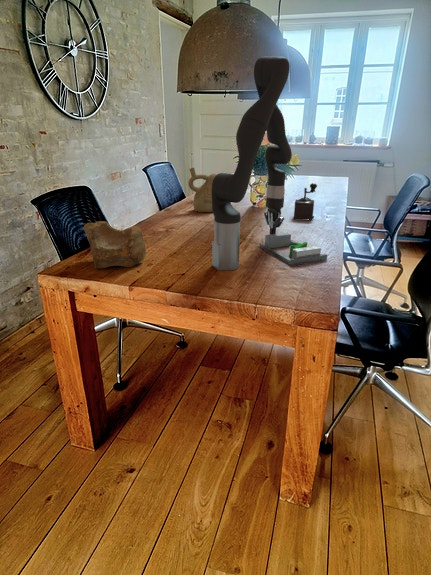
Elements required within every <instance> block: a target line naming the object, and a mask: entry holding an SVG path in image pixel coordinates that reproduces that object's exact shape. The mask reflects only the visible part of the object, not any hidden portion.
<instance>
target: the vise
mask: <svg viewBox="0 0 431 575" xmlns="http://www.w3.org/2000/svg"><path fill="white" fill-rule="evenodd" d="M295 243H298V241H297V242H296V241H294V240H292V239H291V242H290V246H291V245H295ZM259 248H260V249H262V250H263V251H265V252H267V253H268V254H271V255H272V256H274V257H276V258H277V259H279V260H280V261H282V262H285V263H287V264H288V265H290V266H291V267H293V266H295V267H296V266H301V265H306V264H313V263H319V262H326V261H328V253H321V252H322V251H321V250H322V247H320V246H317V245H312V246H307V247H305V248H297V249H292V256H291V258H290V257H288V256H286V255H284V254H283V253H282V252H279V251H277V250H276V249H275V248H270V247H268V246H267V245H265V243H259Z"/></svg>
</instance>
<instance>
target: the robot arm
mask: <svg viewBox="0 0 431 575" xmlns="http://www.w3.org/2000/svg"><path fill="white" fill-rule="evenodd" d="M254 63H255V64H254V66H253V80H254V84H255V87H256V92H257V95H258V100H257V101H255V103H253V104H252V105H251V106H250V107H249V108H248V109H247V110H246V111H245V112H244V114H243V115H242V117H241V120H240V123H239V126H238V129H237V131H236V133H235V134H236V136H235V141H236V142H235V143H236V148H237V152H238V161H237V164H236V168H235V170H234V173H227V172H226V173H225V172H221V173H216V174H217V175H216V176H215V177H214V179H213V182H212V190H211V192H212V211H213V212H212V214H213V218H214V221H213V222H214V223H213V224H214V227H213V228H214V231H213V232H214V233H213V236H214V237H213V238H214V240H212V241H211V258H212V259H211V264H212V265H211V266H213V268H214V269H216V270H217V271H235V270H237V269H239V267H240V248H241V247H240V244H241V243H240V242H241V218H242V217H241V213H240V211H238V209H236V208H235V207H233V205H232V203H233V204H237V203H238V204H239V203H240V202H242V200H244V198H245V196H246V194H247V190H248V188H249V184H250V180H251V176H252V172H253V169H254V166H255V162H256V160H257V157H258V154H259V151H260V148H261V145H262V142H263V140H264V138H265V135H266V137H267V138H266V139H267V141H268V143H270V144H271V145H268V146H267V147H266V149H265V151H264V158H265V164H266V170H267V185H266V186H267V187H266V195H265V207H266V210H267V211H266V212H264V213H263V215H264V218H265V222H266V225H268V227H269V235H271V234H277V233H276V232H277V228H280V227H281V225H282V223H283V222H284V220H285V218H284V217H282V209H283V208H284V205H285V204H284V203H285V194H286V193H285V191H286V190H285V188H286V187H285V184H286V183H285V182H286V171H284V170H283V169H279V168H277V167H276V165H287V164H289V163H290V161H291V160H292V156H293V155H292V154H293V153H292V148H291V145H290V142H289V141H288V138H287V136H286V124H285V119H284V118H285V117H284V115H283V112H282V110H281V109H280V108H279V106H278V105H277V103H278V101H279V98H280V97H281V95H282V92H283V90H284V89H285V86H286V84H287V82H288V78H289V75H290V61H289V59H288V58H286V57H285V56H260V57H258V58H257V60H256V61H255V62H254Z"/></svg>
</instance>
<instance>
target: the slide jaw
mask: <svg viewBox="0 0 431 575" xmlns="http://www.w3.org/2000/svg"><path fill="white" fill-rule="evenodd" d="M291 238H292V234H291V233H289V232H280V233H276V234H271V235H270V234H265V236H264V244H265V245H267V246H268V247H270V248H272V249H275V248H280V247H282V248H283V247H288V246H289V247H290V246H291V245H290V242H291V240H292V239H291Z"/></svg>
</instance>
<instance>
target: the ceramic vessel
mask: <svg viewBox="0 0 431 575" xmlns="http://www.w3.org/2000/svg"><path fill="white" fill-rule="evenodd" d="M195 168H196V167H191V168H189V172H190V175H191V177H190V178H189V179H188V182H187V183H188V187H189V189H190V190H191V191H193V192H195V193H194V196H193V200H192V202H193V206H192V207H193V209H194V211H195V212H197V211H198V212H197V213H201V212H209V213H213V211H212V192H211V190H212V182H213V179H214V177H215V176H216V175H217V174H218V173H211V174H209V175H206V174H196V169H195ZM196 180H204V181H205V182H204V183H203V184H202V185H200V186H198V187H197V186H195V185H194V181H196Z"/></svg>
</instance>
